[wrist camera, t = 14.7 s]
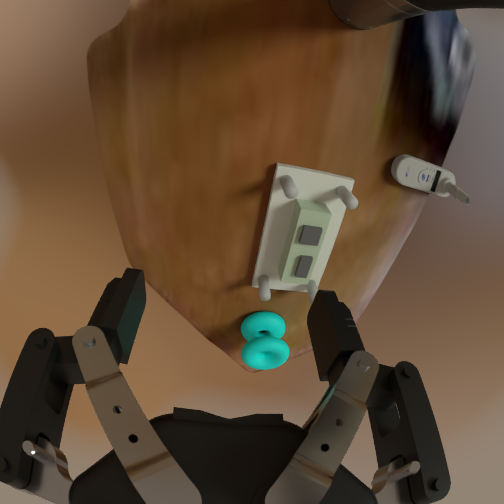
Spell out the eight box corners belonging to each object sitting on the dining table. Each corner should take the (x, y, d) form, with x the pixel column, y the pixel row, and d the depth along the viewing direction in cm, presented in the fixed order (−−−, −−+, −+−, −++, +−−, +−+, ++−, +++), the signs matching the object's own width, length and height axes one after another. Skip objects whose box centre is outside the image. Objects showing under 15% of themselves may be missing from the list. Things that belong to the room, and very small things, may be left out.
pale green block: (296, 198, 44) (302, 211, 40) (325, 203, 44) (333, 216, 40) (278, 268, 51) (281, 285, 47) (303, 271, 52) (308, 287, 48)
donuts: (299, 351, 52) (275, 375, 57) (292, 315, 61) (271, 341, 66) (254, 340, 50) (233, 366, 55) (252, 303, 58) (233, 331, 63)
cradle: (276, 162, 42) (282, 175, 36) (351, 177, 43) (366, 192, 38) (251, 282, 55) (253, 305, 49) (313, 287, 56) (320, 310, 51)
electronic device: (423, 167, 33) (481, 190, 34) (394, 150, 41) (451, 171, 42) (412, 199, 36) (471, 217, 37) (386, 177, 44) (443, 194, 45)
